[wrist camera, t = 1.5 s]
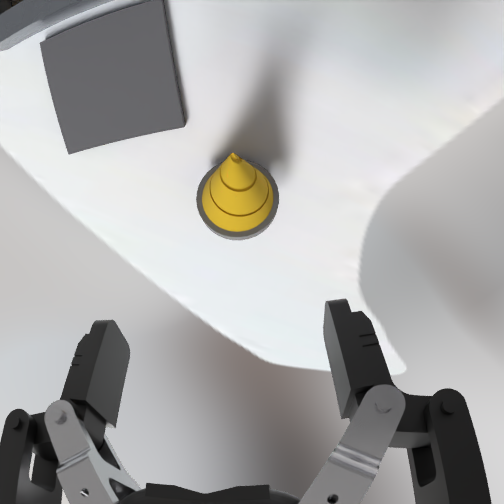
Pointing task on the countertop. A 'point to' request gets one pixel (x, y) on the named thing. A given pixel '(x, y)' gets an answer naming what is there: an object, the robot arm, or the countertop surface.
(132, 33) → the rest mat
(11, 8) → the grey open box
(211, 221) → the ridged yellow cone
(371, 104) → the countertop surface
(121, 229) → the countertop surface
